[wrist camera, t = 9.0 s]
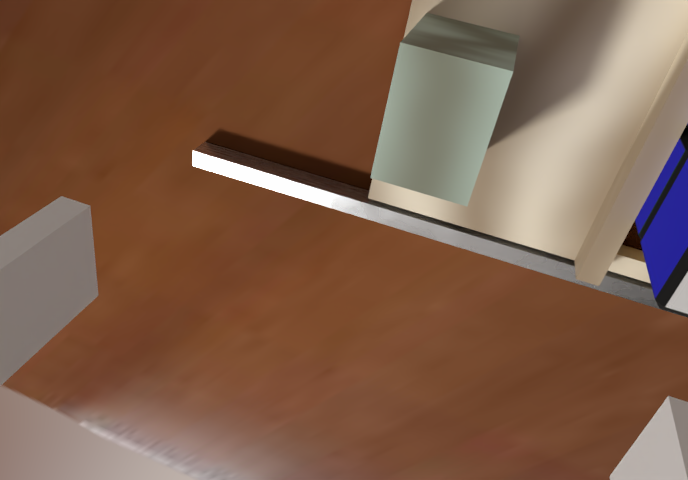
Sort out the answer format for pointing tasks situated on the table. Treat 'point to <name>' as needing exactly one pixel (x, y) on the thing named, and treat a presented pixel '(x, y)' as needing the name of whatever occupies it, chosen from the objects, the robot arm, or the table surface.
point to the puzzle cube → (668, 231)
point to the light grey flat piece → (403, 218)
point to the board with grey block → (537, 121)
